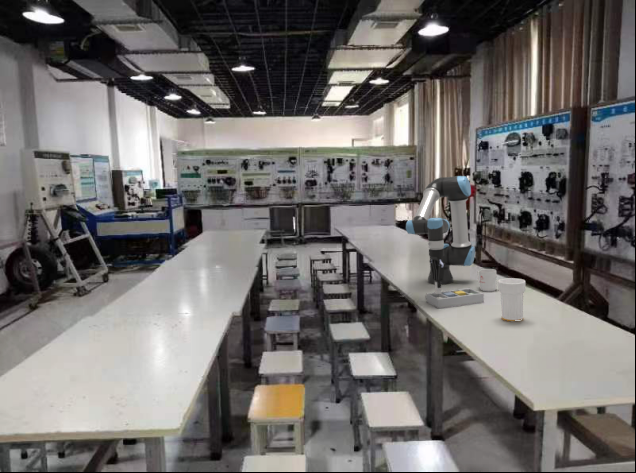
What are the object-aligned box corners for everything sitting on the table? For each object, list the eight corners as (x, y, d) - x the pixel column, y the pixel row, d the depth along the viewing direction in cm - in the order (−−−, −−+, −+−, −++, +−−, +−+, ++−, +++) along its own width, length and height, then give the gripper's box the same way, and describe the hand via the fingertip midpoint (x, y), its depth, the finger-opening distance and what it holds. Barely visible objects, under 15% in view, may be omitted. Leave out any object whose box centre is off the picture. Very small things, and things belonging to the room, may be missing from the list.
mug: (500, 290, 263) (499, 270, 261) (488, 292, 259) (487, 272, 258) (484, 286, 273) (483, 267, 272) (472, 288, 270) (471, 269, 268)
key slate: (443, 297, 246) (443, 293, 246) (451, 296, 247) (450, 292, 246) (447, 299, 242) (447, 295, 241) (455, 298, 242) (455, 293, 242)
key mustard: (453, 295, 247) (453, 291, 247) (461, 294, 248) (461, 290, 248) (458, 297, 243) (457, 293, 242) (465, 296, 244) (465, 292, 243)
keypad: (426, 302, 249) (426, 293, 249) (469, 296, 254) (469, 287, 254) (438, 308, 236) (438, 299, 235) (483, 302, 241) (483, 293, 240)
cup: (512, 324, 204) (511, 285, 202) (493, 318, 215) (492, 280, 213) (532, 319, 209) (531, 281, 207) (512, 313, 219) (511, 276, 217)
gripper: (423, 247, 245) (426, 291, 249) (435, 251, 233) (437, 297, 236) (437, 245, 247) (439, 289, 250) (449, 249, 234) (451, 295, 237)
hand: (438, 293), depth 243 cm, fingers closed
